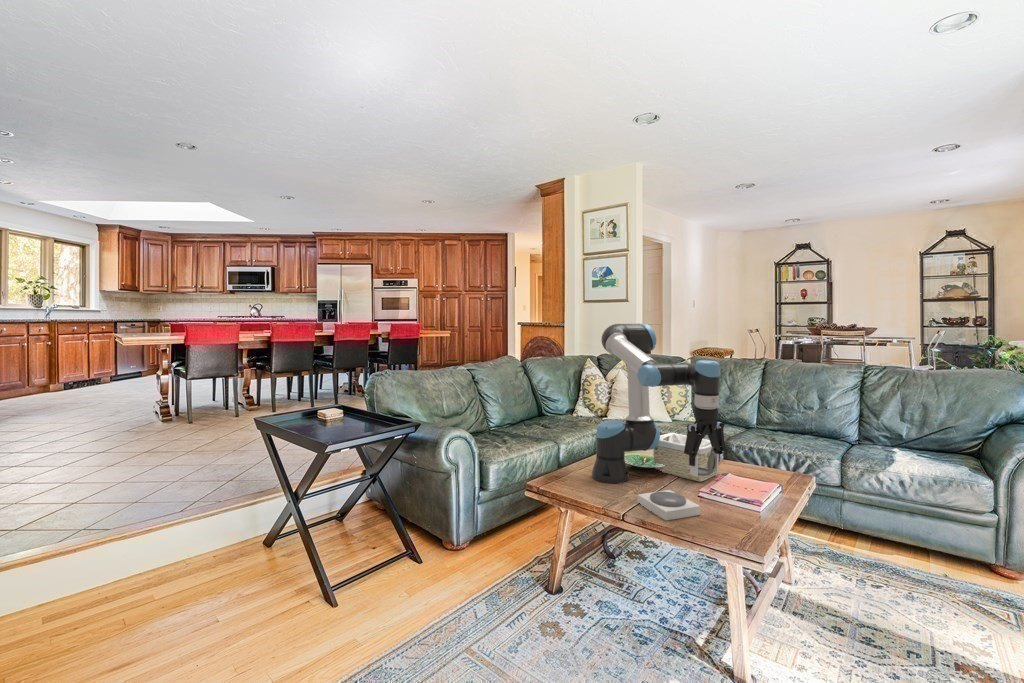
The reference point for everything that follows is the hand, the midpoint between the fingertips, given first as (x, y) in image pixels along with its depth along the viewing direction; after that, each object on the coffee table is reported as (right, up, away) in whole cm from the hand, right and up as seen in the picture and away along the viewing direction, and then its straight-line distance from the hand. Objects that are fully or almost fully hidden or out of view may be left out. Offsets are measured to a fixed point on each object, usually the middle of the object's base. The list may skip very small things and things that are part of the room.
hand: (704, 473), depth 157 cm
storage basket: (+10, -13, +44) cm, 47 cm away
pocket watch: (0, 0, 0) cm, 0 cm away
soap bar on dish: (-10, -14, +6) cm, 19 cm away
